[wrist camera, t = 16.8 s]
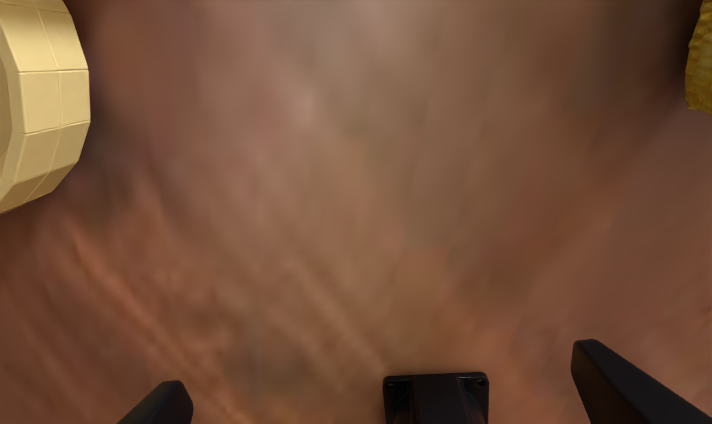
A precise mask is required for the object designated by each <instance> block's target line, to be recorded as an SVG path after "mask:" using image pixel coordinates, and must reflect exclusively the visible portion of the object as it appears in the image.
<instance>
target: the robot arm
mask: <svg viewBox="0 0 712 424" xmlns="http://www.w3.org/2000/svg"><path fill="white" fill-rule="evenodd" d="M571 374H572V377H573V380H574V382H575V385H576V387H577V390H578V392H579V395H580V397H581V400H582V402H583V405H584V407H585V410H586V412H587V414H588V417H589V419H590V422H591V424H712V418H711V417H710V416H708V415H707V414H705V413H704V412H702V411H701V410H699V409H698V408H696V407H695V406H693V405H692V404H691V403H689V402H688V401H686V400H685V399H683V398H682V397H680V396H679V395H677V394H676V393H674V392H673V391H671V390H670V389H668V388H667V387H665V386H664V385H663V384H661V383H660V382H658V381H657V380H655V379H654V378H652V377H651V376H649V375H648V374H646V373H645V372H643V371H642V370H640V369H639V368H637V367H636V366H635V365H633V364H632V363H630V362H629V361H627V360H626V359H624V358H623V357H621V356H620V355H618V354H617V353H615V352H614V351H612V350H611V349H609V348H608V347H607V346H605V345H604V344H602V343H601V342H599V341H597V340H595V339H587V340H578V341H576V342H575V343H574V345H573V352H572V360H571ZM479 380H482V381H480V382H478V381H479ZM388 384H393V385H391V386H390V385H388ZM383 396H384V406H385V415H386V424H488V406H489V381H488V378H487V375H486V374H485V373H482V372H470V373H448V374H426V375H405V376H388V377H386V378H384V379H383ZM192 416H193V402H192V400H191V398H190V396H189V394H188V392H187V390H186V388H185V386H184V384H183V383H182V382H181V381H180V380H174V381H165V382H162V383H161V384H159V385H158V386H157V387H156V388H155V389H154V390H153V391H152V392H151V393H150V394H149V395H147V396H146V397H145V398H144V399H143V400H142V401H141V402H140V403H139V404H138V405H137V406H136V407H134V408H133V409H132V410H131V411H130V412H129V413H128V414H127V415H126V416H125V417H124V418H123V419H121V420H120V421H119V422H118V423H117V424H191V420H192Z"/></svg>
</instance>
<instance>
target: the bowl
mask: <svg viewBox="0 0 712 424" xmlns="http://www.w3.org/2000/svg"><path fill="white" fill-rule="evenodd" d="M87 69H88V66H87V62H86V59H85V56H84V53H83V50H82V47H81V44H80V41H79V38H78V35H77V32H76V29H75V26H74V23H73V19H72V16H71V14H70V13H69V10H68V9H67V7H66V5H65V4H64V2H63V1H62V0H0V216H1V215H3V214H5V213H8V212H10V211H13V210H15V209H17V208H20V207H22V206H24V205H26V204H28V203H30V202H32V201H34V200H36V199H38V198H40V197H42V196H44V195H47V194H49V193H51V192H52V191H53V190H54V189H55V188H56V187H57V185H58V184H59V183H60V182H61V181H62V180H63V178H64V177H65V176H66V175H67V174H68V173H69V171H70V170H71V169H72V168H73V167H74V165H75V164H76V163H77V162H78V160H79V157H80V154H81V151H82V147H83V144H84V141H85V138H86V135H87V131H88V128H89V125H90V122H91V121H90V119H91V118H90V90H89V71H88V70H87Z"/></svg>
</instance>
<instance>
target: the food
mask: <svg viewBox="0 0 712 424" xmlns="http://www.w3.org/2000/svg"><path fill="white" fill-rule="evenodd" d="M699 11H700V17H699V19H698V22H697V25H696V27H695V30H694V33H693V36H692V39H691V41H690V43H689V48H690V50H689V55H688V61H687V66H686V69H685V73H686V78H685V91H686V96H685V97H684V98H685V100H686V101H687V103H688V109H690V110H693V111H694V110H702V111H704V112H706V113H707V114H709V115H711V116H712V0H703V3H702V5H701V8H700V10H699Z"/></svg>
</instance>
